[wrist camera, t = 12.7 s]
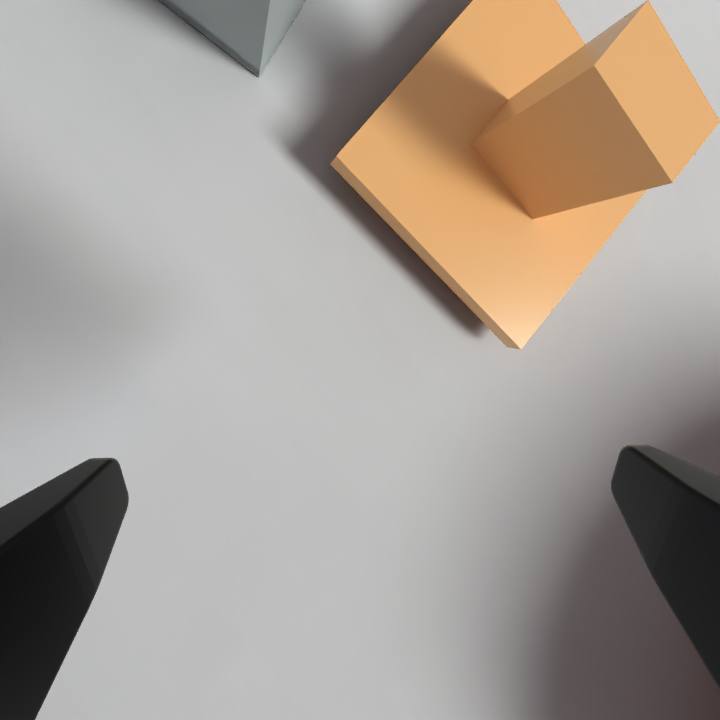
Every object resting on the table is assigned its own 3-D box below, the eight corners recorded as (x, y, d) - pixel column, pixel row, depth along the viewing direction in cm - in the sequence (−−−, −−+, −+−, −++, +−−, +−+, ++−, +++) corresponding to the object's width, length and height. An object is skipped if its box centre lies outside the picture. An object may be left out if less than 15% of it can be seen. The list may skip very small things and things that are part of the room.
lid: (491, 344, 21) (648, 371, 13) (323, 172, 18) (399, 72, 10) (623, 178, 22) (844, 110, 14) (487, -14, 19) (675, -241, 11)
